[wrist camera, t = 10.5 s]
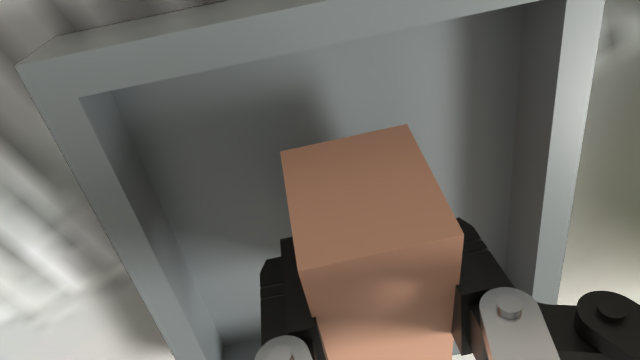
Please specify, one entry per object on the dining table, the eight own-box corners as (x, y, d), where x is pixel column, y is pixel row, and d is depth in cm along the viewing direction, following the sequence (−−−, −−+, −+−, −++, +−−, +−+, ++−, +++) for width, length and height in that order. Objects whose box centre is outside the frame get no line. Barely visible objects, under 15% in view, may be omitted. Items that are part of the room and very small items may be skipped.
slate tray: (55, 36, 13) (13, 65, 10) (552, -68, 13) (615, -60, 11) (208, 354, 20) (203, 410, 18) (519, 286, 20) (552, 333, 18)
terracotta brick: (280, 151, 12) (297, 271, 9) (406, 124, 12) (464, 234, 9) (314, 279, 16) (334, 391, 13) (410, 258, 16) (451, 365, 13)
